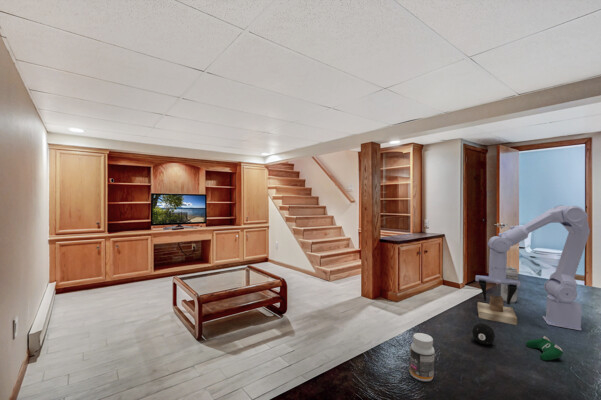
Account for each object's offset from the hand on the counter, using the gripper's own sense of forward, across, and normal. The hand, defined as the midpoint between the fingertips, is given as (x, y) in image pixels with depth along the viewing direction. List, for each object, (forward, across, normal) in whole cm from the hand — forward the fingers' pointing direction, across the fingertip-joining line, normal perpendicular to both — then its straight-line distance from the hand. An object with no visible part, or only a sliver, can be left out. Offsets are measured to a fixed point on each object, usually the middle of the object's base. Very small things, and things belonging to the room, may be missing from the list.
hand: (496, 301), depth 117 cm
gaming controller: (+6, +10, -27) cm, 29 cm away
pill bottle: (+6, -21, -58) cm, 62 cm away
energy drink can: (+6, +7, +24) cm, 26 cm away
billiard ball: (+6, -6, -29) cm, 30 cm away
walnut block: (+3, 0, 0) cm, 3 cm away
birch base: (+6, 0, 0) cm, 6 cm away
